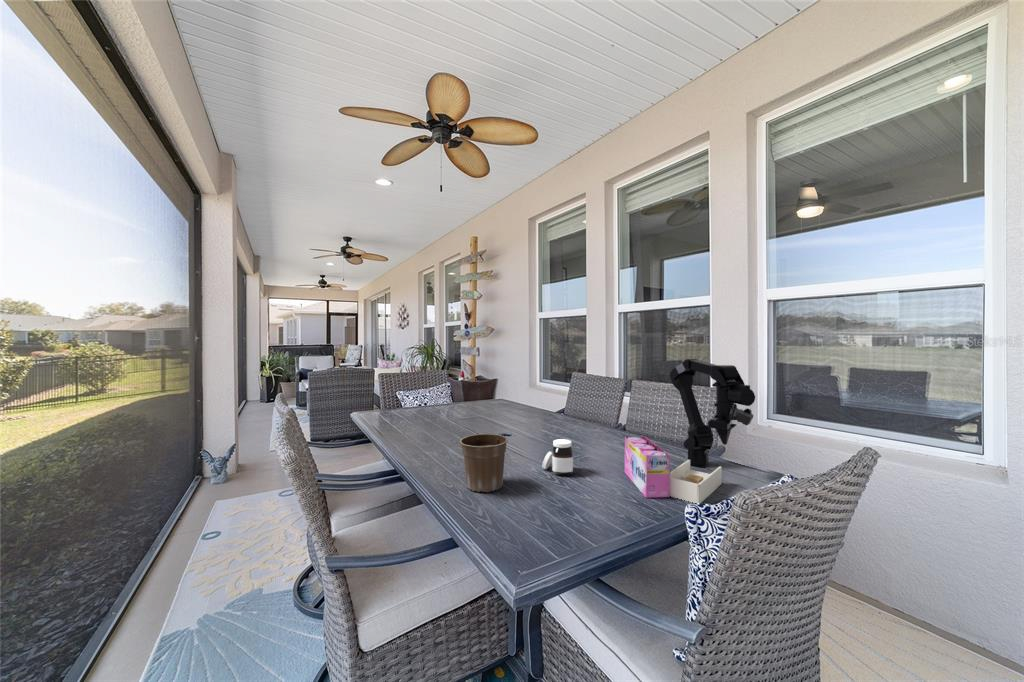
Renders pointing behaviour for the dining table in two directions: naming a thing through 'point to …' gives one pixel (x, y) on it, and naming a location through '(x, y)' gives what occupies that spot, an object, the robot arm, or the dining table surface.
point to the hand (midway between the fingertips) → (724, 444)
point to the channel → (693, 490)
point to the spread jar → (560, 457)
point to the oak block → (694, 478)
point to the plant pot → (484, 461)
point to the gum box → (647, 466)
